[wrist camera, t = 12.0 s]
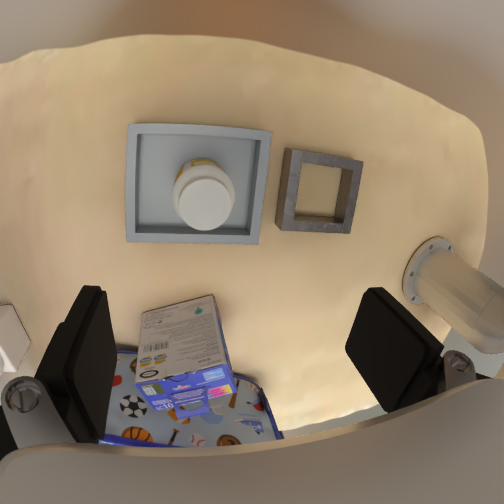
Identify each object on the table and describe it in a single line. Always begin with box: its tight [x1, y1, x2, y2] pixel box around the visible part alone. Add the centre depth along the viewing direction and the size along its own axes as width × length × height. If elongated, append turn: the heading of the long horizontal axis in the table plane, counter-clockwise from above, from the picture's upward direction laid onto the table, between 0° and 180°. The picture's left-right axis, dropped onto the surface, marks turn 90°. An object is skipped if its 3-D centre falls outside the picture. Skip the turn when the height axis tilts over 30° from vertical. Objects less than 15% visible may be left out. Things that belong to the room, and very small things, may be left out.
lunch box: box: [99, 350, 285, 448], centre depth 32 cm, size 28×10×22 cm, turn 65°
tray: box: [125, 123, 272, 245], centre depth 29 cm, size 14×12×3 cm
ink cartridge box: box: [135, 295, 237, 419], centre depth 30 cm, size 10×6×14 cm, turn 101°
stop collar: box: [275, 148, 363, 234], centre depth 32 cm, size 9×9×2 cm
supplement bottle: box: [172, 158, 235, 231], centre depth 25 cm, size 5×5×10 cm
